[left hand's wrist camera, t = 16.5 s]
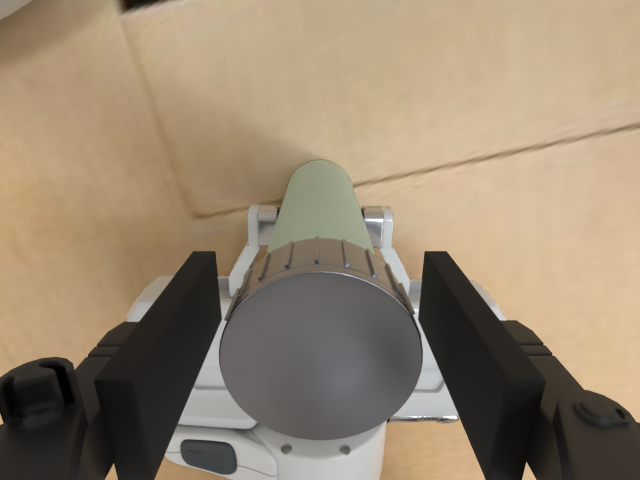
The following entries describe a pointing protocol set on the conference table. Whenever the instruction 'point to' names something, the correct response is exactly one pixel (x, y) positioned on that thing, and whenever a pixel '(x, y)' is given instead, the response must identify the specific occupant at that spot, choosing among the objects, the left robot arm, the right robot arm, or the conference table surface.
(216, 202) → the conference table surface
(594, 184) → the conference table surface
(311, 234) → the green bottle
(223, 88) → the conference table surface
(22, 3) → the projector
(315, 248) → the lid
